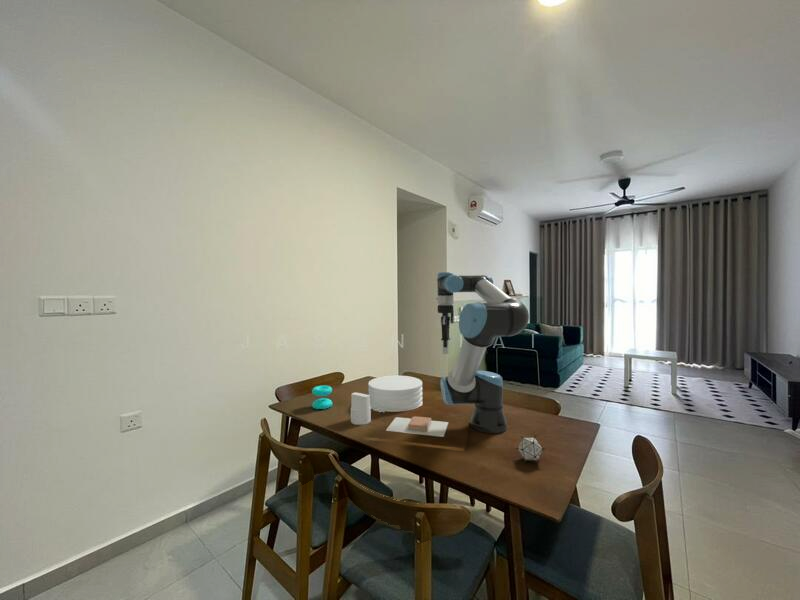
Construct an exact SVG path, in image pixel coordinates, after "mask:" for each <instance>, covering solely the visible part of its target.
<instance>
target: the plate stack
mask: <svg viewBox="0 0 800 600" xmlns="http://www.w3.org/2000/svg"><path fill="white" fill-rule="evenodd" d="M368 395H370V407H371V410H372V409H373V410H372V411H375V412H377V411H378V413H381V412H383V413H382V414H384V413H385V412H392V413H394V412H398V413H399V412H408V411H411V410H412V411H413V410H415V409H418V408H419V407H422V406H423V381H422V380H421V379H420V378H417V377H413V376H410V375H409V376H408V375H385V376H383V375H382V376H379V377H375V378H372V379H371V380H369V381H368Z"/></svg>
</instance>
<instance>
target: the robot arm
mask: <svg viewBox="0 0 800 600" xmlns="http://www.w3.org/2000/svg"><path fill="white" fill-rule="evenodd" d="M436 282H437V284H436V285H437V286H436V287H437V297H436V298H435V299H436V300H437V304H438V305H437V313H439V314H442V315H441V317H440V325H441V341H442V354H443V355H449V353H450V349H449V348H450V345H449V344H450V343H449V341H451V337H450V324H451V323H450V321H451V317H450V315H449V314H453V313H454V301H455V300H454V293H475V294H477V295H478V296H479V297H480V298H481V299H482V300H483V301H484V302H480V301H478V302H477V301H476V302H472V303H467V304H465V305H464V306H463V308H461V311H460V313H459V318H458V319H459V321H458V329H459V332H460V335H461V336H462V337H463V340H462V343H461V347H460V350H459V353H458V356H457V358H456V361H455V364H454V368H453V369H451V370H450V371H449V372H448V375H447V376H446V375H444V376H442V377H440V390H441V396H442V399H443V402H444V403H445V405H447V406H448V405H449V406H457V405H459V406H460V405H469V404H470V405H473V404H474V410H473V412H472V415H471V418H470V426H471V428H472V429H474V430H476V431H477V432H481V433H486V434H500V433H503V432H506V431H507V430H508V421H507V418H506V415H505V411H504V409H503V408H504V403H503V402H504V400H503V399H504V398H503V397H504V383H503V382H504V381H503V377H502V376H501V375H500V374H498V373H495V372H492V371H487V370H479V367H480V365H481V363H482V360H483V359H484V355H485V353H486V350H487V348H488V347H490V346H492V345H494V343H495V340H496V338H497V337H498V338H499V337H500V338H501V337H502V338H503V337H513V336H516V335H519V334H520V333H522V332H524V330H525V329H526V327H527V325H528V323H529V319H530V317H529V316H530V315H529V311H528V308H527V306H526V305H525V304H524V303H523V302H522V301H521V300H519V299H517V298H516V297H515V298H514V297H510V296H509V295H508V294H506V293H505V291H503V290H502V289H500V288H499V287H497V286H496V285H494V280H493V278H492V276H490V275H485V274H482V275H478V274H477V275H456V274H454V273H453V272H451V271H450V272H448V271H446V272H445V271H444V272H438V273H437V279H436Z"/></svg>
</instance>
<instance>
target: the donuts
mask: <svg viewBox="0 0 800 600" xmlns="http://www.w3.org/2000/svg"><path fill="white" fill-rule="evenodd" d="M311 392H312V393H311V394H312V395H314V396H316V397H322V398H317V399H315V400H314V401H313V402H312V403H311V406H312V408H313V409H315V410H318V409H323V410H327V408H328V409H330V408H331V407H332V406H333V401H332V400H331V399H329V398H323V397H326V396H329V395H330V394H331V393H333V388H332V387H331V386H329V385H317V386H314V387H313V388H312V389H311ZM329 407H330V408H329Z"/></svg>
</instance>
